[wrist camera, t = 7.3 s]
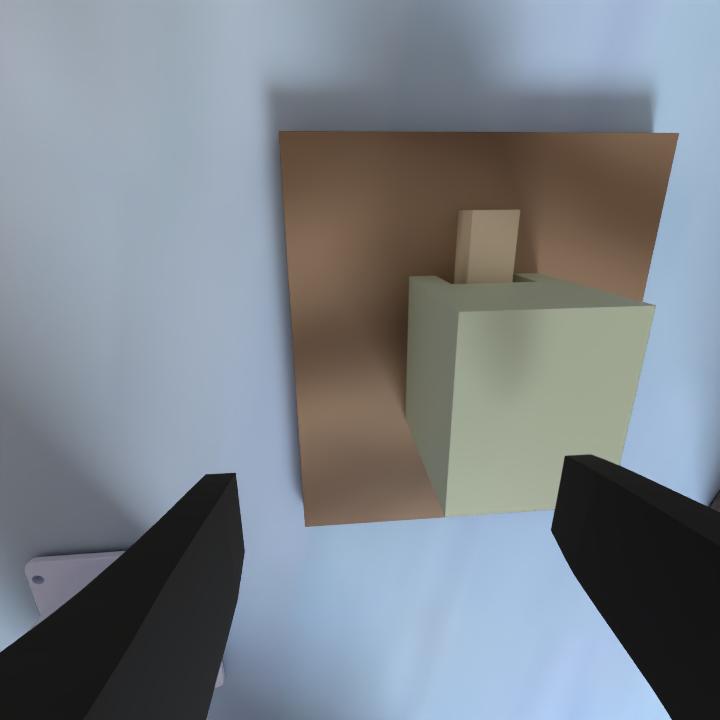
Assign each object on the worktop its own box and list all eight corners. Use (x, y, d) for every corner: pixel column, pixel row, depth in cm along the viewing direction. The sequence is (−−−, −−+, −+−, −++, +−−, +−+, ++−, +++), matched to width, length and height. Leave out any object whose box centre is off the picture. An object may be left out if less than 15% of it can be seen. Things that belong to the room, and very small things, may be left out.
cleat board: (583, 490, 21) (618, 528, 19) (306, 509, 20) (303, 551, 18) (653, 138, 16) (716, 124, 13) (281, 137, 15) (273, 121, 12)
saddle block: (519, 413, 18) (610, 505, 12) (405, 419, 18) (444, 517, 12) (537, 272, 16) (656, 305, 10) (409, 276, 16) (459, 311, 10)
